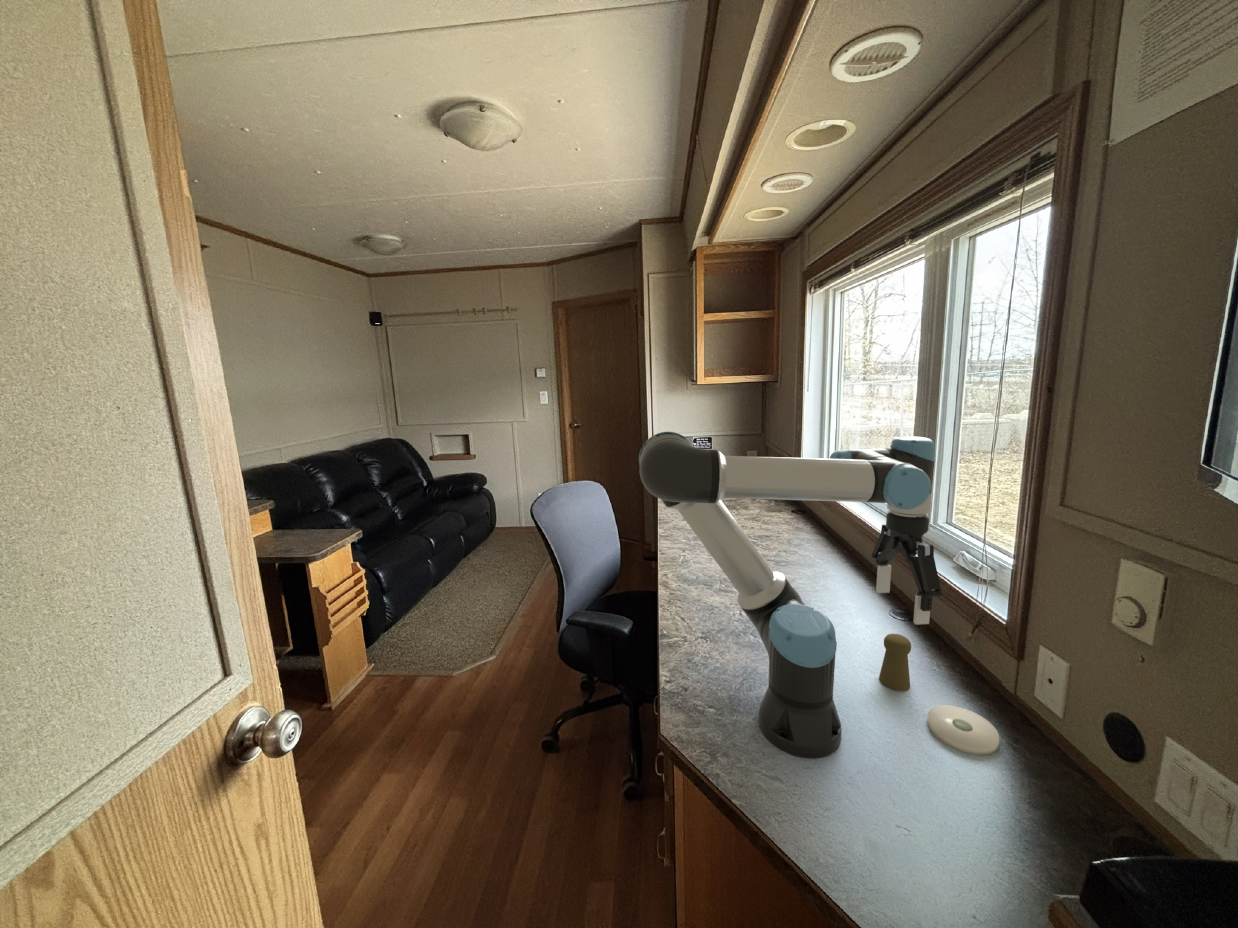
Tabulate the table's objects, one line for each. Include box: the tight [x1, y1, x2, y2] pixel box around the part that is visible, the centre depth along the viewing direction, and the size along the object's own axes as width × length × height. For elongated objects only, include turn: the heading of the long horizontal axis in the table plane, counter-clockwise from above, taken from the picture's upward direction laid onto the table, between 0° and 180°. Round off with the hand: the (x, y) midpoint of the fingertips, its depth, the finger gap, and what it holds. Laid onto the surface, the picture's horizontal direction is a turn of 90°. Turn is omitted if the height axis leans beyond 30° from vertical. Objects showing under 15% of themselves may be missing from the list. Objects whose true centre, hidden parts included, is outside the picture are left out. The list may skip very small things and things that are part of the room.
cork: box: [878, 633, 912, 692], centre depth 103 cm, size 6×6×11 cm
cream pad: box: [926, 704, 1000, 756], centre depth 89 cm, size 11×11×2 cm
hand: (900, 606), depth 101 cm, fingers open, 13 cm apart
